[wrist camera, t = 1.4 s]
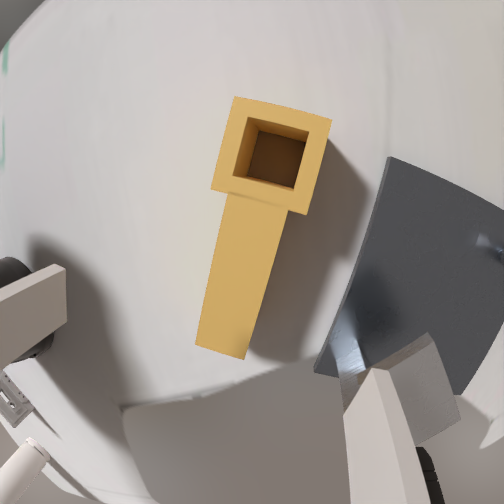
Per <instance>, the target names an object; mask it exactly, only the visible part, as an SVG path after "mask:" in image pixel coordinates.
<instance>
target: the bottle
mask: <svg viewBox="0 0 504 504" xmlns="http://www.w3.org/2000/svg"><path fill="white" fill-rule="evenodd" d="M34 446H35V447H36V448H37V449H38V450H39V451H40V452H41V453H42V454H43V455H44V456H43V455H42V454H41V453H40V452H39V451H38V450H37V449H36V448H34ZM50 459H51V457H50V455H49V454H48V452H47V451H46V450H45V449H44V448H43V447H42V446H41V445H40V444H39V443H38V442H36V441H35V440H34V439H32V438H30V437H29V438H27V440H26V441H25V442H24V443H23V444H22V445H21V446H20V447H19V448H18V449H17V451H16V452H15V453H14V454H13V455H12V456H11V457H10V458H9V460H8V461H7V462H6V463H5V464H4V465H3V466H2V467H1V468H0V504H15V503H16V502H17V501H18V499H19V498H20V497H21V495H22V494H23V493H24V492H25V490H26V489H27V488H28V486H29V485H30V484H31V483H32V481H33V480H34V479H35V478H36V476H37V475H38V473H39V472H40V471H41V470H42V469H43V468H44V466H45V465H46V462H48V461H49V460H50Z"/></svg>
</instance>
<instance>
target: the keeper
mask: <svg viewBox="0 0 504 504" xmlns="http://www.w3.org/2000/svg"><path fill="white" fill-rule="evenodd" d="M336 362H337V368H338V374H339V380H340V386H341V393H342V400H343V407H344V413H345V412H346V410H347V409H348V407H349V405H350V404H351V402H352V401H353V399H354V397H355V396H356V394H357V392H358V391H359V389H360V387H361V386H362V384H363V382H364V380H365V379H366V377H367V375H368V373H369V372H370V370H371V368H377V369H382V370H387V371H389V374H390V376H391V379H392V382H393V384H394V387H395V390H396V392H397V395H398V398H399V401H400V403H401V406H402V409H403V412H404V415H405V418H406V421H407V424H408V427H409V430H410V433H411V436H412V439H413V442H414V445H417V444H419V443H421V442H423V441H425V440H427V439H429V438H430V437H432V436H434V435H436V434H437V433H439V432H441V431H443V430H444V429H446V428H448V427H449V426H451V425H452V424H454V423H456V422H457V421H458V420H460V419H461V418H460V415H459V411H458V408H457V405H456V401H455V399H454V395H453V392H452V389H451V386H450V383H449V380H448V377H447V374H446V371H445V369H444V366H443V363H442V361H441V358H440V355H439V353H438V350H437V348H436V345H435V342H434V341H433V339H432V338H431V336H430V335H429V334H428V332H427V333H425V334H424V335H422V336H421V337H419V338H418V339H416V340H415V341H413V342H411V343H410V344H408V345H407V346H405V347H404V348H402V349H400V350H399V351H397V352H395V353H394V354H392V355H390V356H389V357H387V358H385V359H383V360H382V361H380V362H378V363H376V364H375V365H373V366H370V364H369V363H368V361H367V359H366V358H365V356H364V355H363V353H362V351H361V350H360V348H359V347H358V348H356V349H355V350H353V351H351V352H349V353H347V354H345V355H344V356H342V357H340V358H338V359H336Z"/></svg>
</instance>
